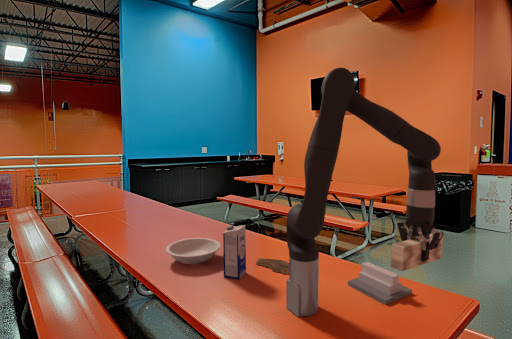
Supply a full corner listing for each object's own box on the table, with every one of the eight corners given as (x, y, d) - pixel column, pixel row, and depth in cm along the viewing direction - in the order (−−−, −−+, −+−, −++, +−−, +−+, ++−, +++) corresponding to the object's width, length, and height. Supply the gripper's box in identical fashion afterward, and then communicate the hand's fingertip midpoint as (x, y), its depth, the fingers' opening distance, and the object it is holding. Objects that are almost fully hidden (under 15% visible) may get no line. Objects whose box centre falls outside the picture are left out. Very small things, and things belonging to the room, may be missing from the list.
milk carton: (239, 280, 118) (238, 229, 116) (223, 277, 121) (222, 227, 119) (246, 272, 125) (245, 224, 123) (231, 270, 127) (230, 223, 125)
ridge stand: (385, 304, 100) (386, 282, 99) (347, 284, 114) (348, 265, 113) (411, 293, 107) (412, 273, 106) (373, 276, 121) (374, 257, 120)
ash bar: (402, 271, 88) (403, 247, 88) (391, 266, 92) (392, 244, 91) (441, 258, 98) (443, 236, 98) (430, 254, 101) (431, 233, 101)
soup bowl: (195, 247, 155) (194, 234, 154) (232, 257, 141) (231, 243, 140) (154, 263, 135) (154, 248, 135) (192, 277, 122) (192, 261, 121)
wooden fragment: (249, 263, 135) (249, 260, 135) (266, 256, 143) (266, 254, 143) (297, 281, 118) (297, 278, 118) (313, 272, 125) (313, 270, 125)
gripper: (391, 200, 97) (389, 253, 99) (436, 209, 85) (433, 269, 87) (406, 198, 101) (404, 249, 103) (451, 206, 89) (448, 264, 91)
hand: (417, 258), depth 95 cm, fingers closed on ash bar, 3 cm apart
